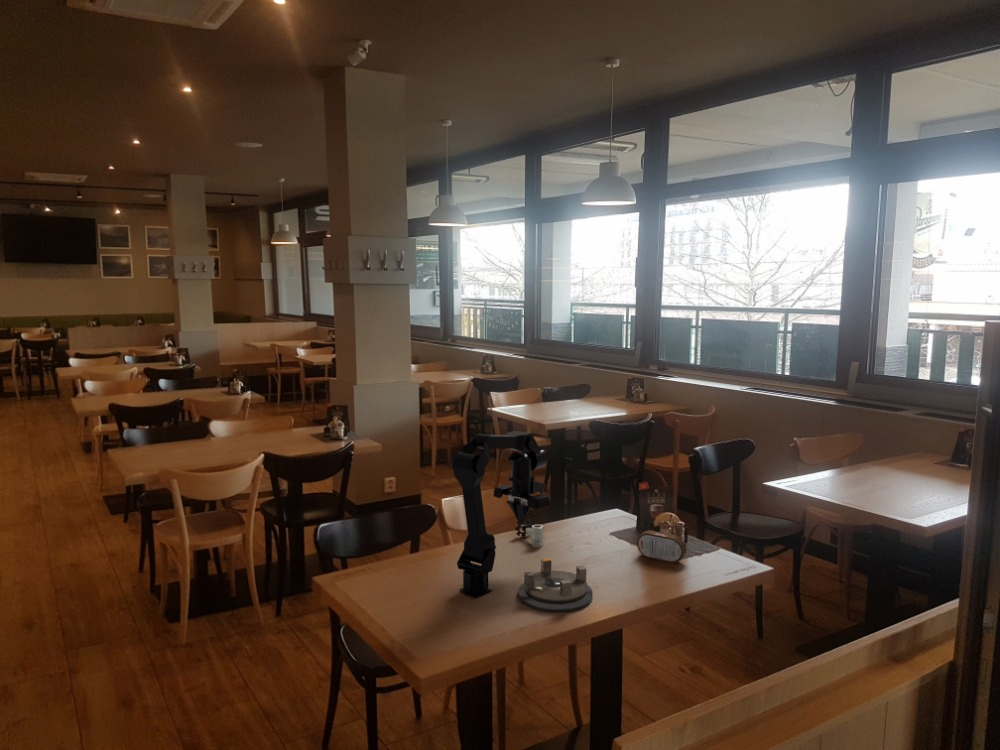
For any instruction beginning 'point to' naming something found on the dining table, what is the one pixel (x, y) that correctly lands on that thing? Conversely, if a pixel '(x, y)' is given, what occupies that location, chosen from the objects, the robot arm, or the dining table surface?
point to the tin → (661, 546)
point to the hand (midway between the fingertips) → (521, 524)
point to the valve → (532, 533)
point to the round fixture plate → (555, 584)
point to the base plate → (555, 607)
